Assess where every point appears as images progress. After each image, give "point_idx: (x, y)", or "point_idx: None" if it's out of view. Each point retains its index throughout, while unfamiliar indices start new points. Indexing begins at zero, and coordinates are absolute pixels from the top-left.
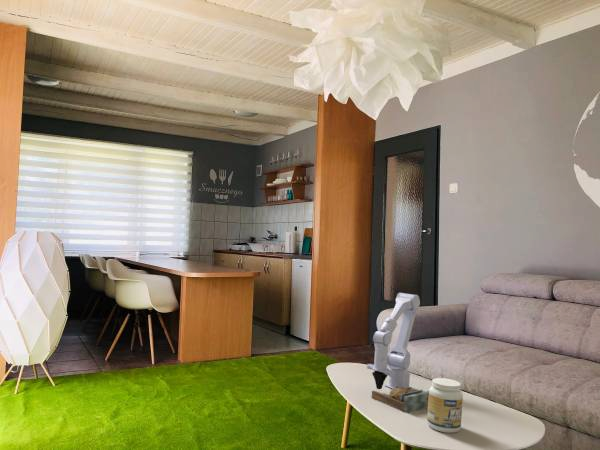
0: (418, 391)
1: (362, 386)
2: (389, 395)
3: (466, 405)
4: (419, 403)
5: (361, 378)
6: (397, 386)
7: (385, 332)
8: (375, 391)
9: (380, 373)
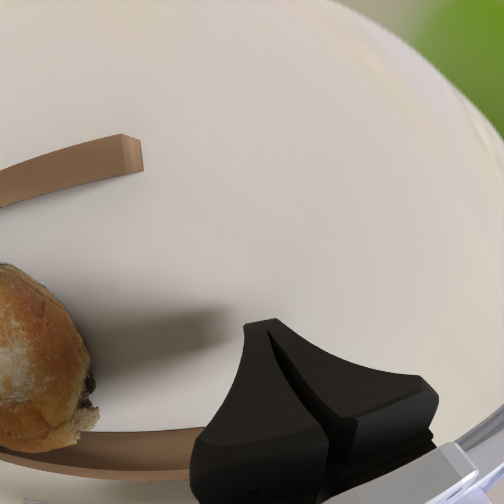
0: None
1: (430, 274)
2: (11, 291)
3: None
4: None
5: (486, 345)
6: None
7: None
8: (90, 173)
9: (282, 499)
